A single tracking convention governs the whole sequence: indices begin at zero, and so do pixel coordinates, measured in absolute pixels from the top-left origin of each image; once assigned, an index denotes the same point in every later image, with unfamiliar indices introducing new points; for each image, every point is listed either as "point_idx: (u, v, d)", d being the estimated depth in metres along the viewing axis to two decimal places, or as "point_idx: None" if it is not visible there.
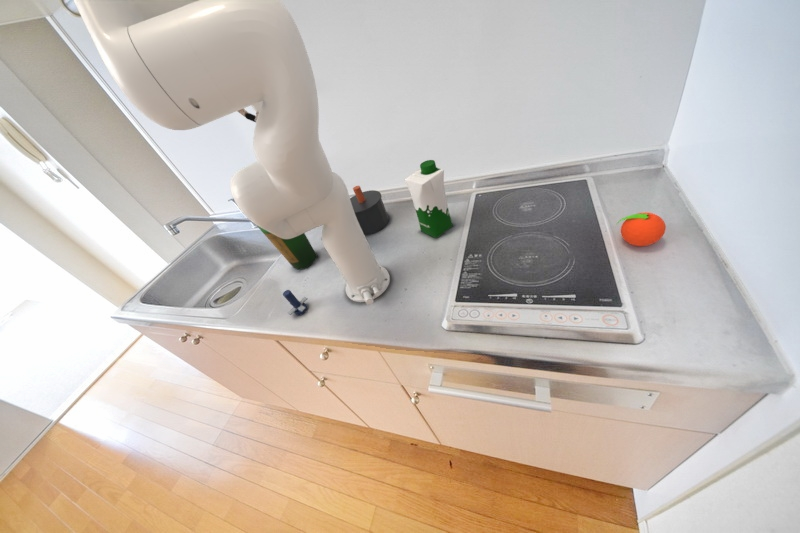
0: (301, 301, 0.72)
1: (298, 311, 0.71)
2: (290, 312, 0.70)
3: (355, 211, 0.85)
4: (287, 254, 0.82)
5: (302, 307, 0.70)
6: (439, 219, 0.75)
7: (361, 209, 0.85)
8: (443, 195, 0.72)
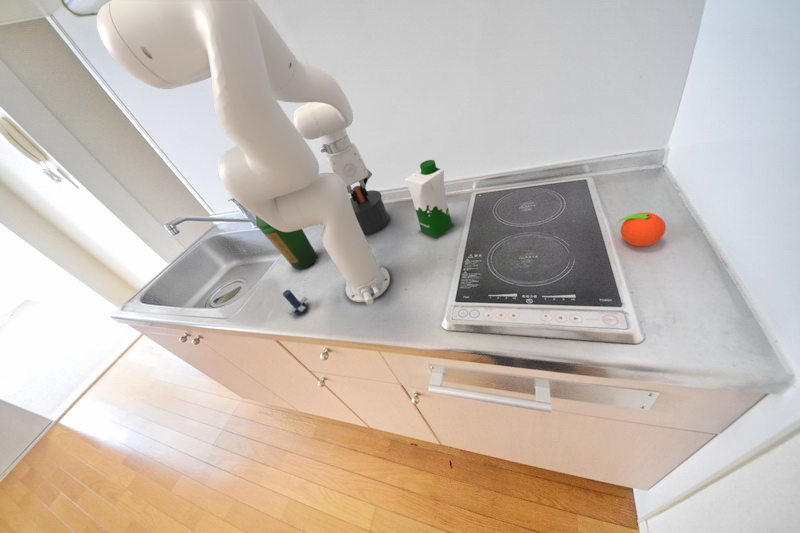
0: (301, 301, 0.72)
1: (298, 311, 0.71)
2: (290, 312, 0.70)
3: (355, 211, 0.85)
4: (287, 254, 0.82)
5: (302, 307, 0.70)
6: (439, 219, 0.75)
7: (361, 209, 0.85)
8: (443, 195, 0.72)
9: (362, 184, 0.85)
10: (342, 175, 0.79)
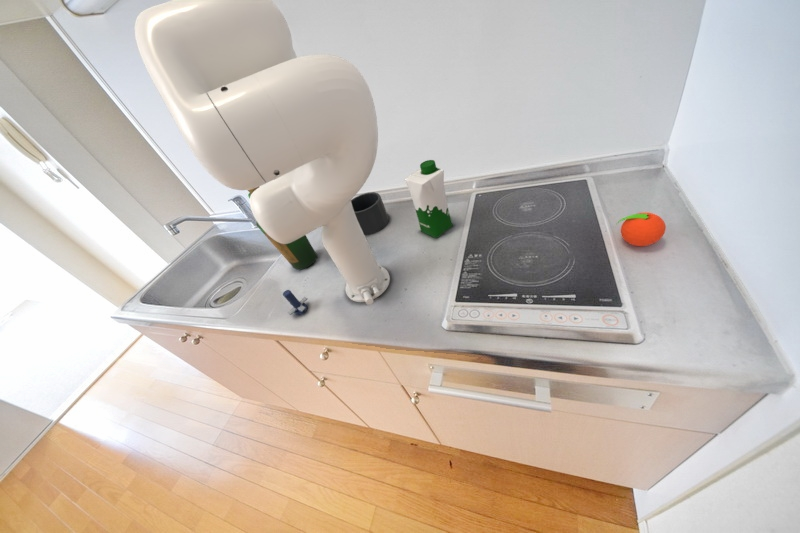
0: (301, 301, 0.72)
1: (298, 311, 0.71)
2: (290, 312, 0.70)
3: None
4: (287, 254, 0.82)
5: (302, 307, 0.70)
6: (439, 219, 0.75)
7: None
8: (443, 195, 0.72)
9: None
10: None
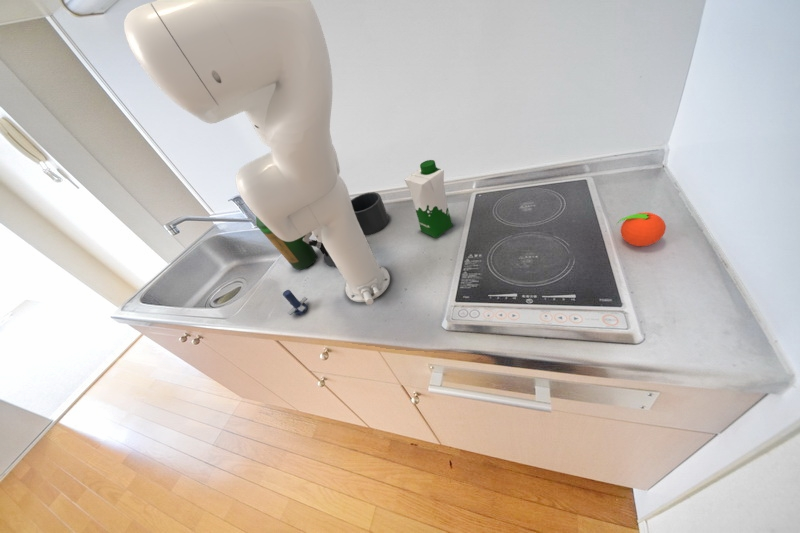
0: (301, 301, 0.72)
1: (298, 311, 0.71)
2: (290, 312, 0.70)
3: (334, 264, 0.82)
4: (287, 254, 0.82)
5: (302, 307, 0.70)
6: (439, 219, 0.75)
7: None
8: (443, 195, 0.72)
9: None
10: (319, 230, 0.76)
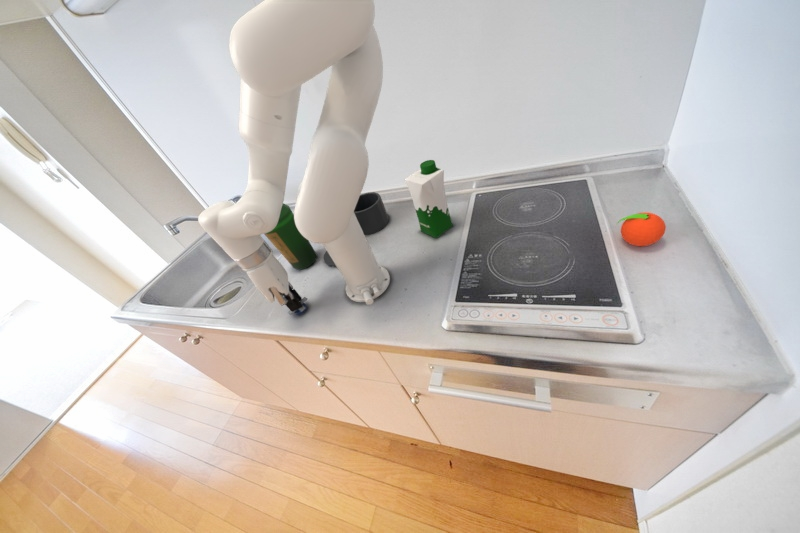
0: (301, 301, 0.72)
1: (298, 311, 0.71)
2: (290, 312, 0.70)
3: (334, 264, 0.82)
4: (287, 254, 0.82)
5: (302, 307, 0.70)
6: (439, 219, 0.75)
7: None
8: (443, 195, 0.72)
9: None
10: None
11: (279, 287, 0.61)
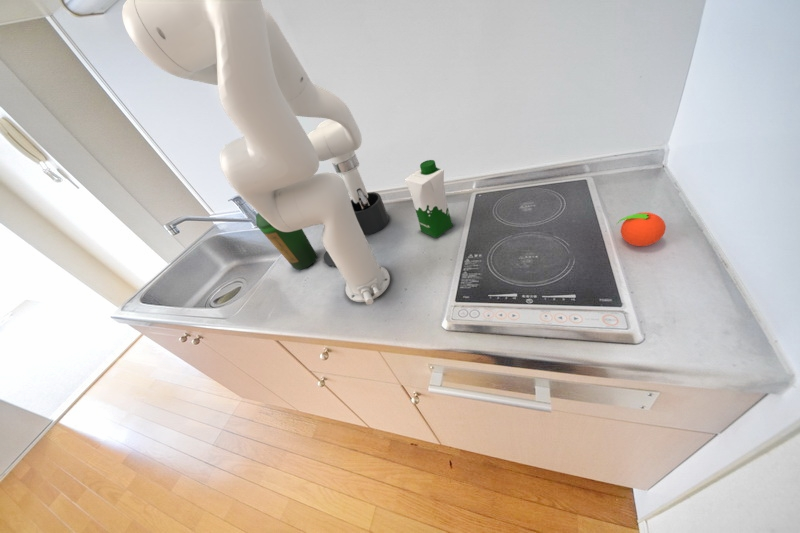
0: None
1: None
2: None
3: (334, 264, 0.82)
4: (287, 254, 0.82)
5: None
6: (439, 219, 0.75)
7: None
8: (443, 195, 0.72)
9: (360, 206, 0.86)
10: None
11: (364, 189, 0.82)
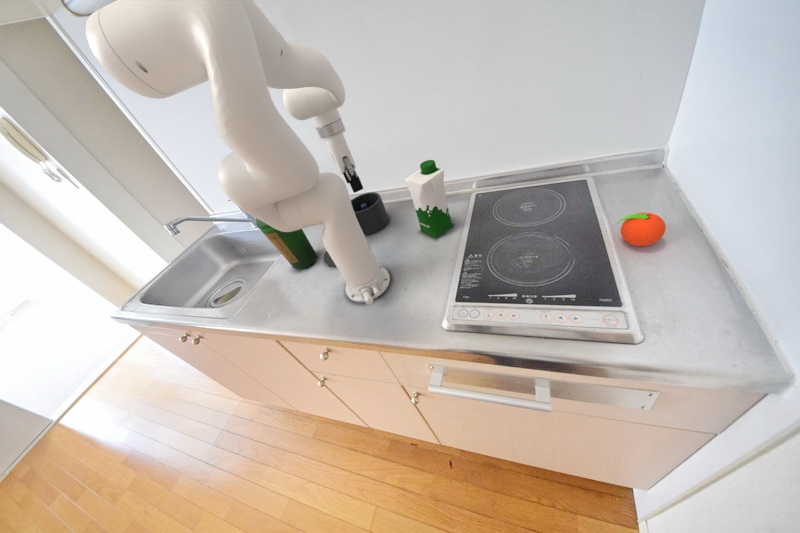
0: None
1: None
2: None
3: (334, 264, 0.82)
4: (287, 254, 0.82)
5: None
6: (439, 219, 0.75)
7: None
8: (443, 195, 0.72)
9: (347, 176, 0.77)
10: None
11: (350, 158, 0.75)
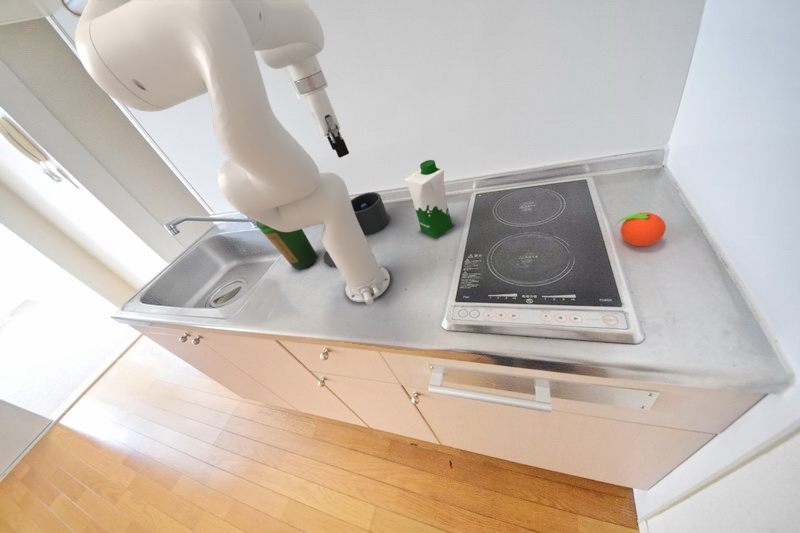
0: None
1: None
2: None
3: (334, 264, 0.82)
4: (287, 254, 0.82)
5: None
6: (439, 219, 0.75)
7: None
8: (443, 195, 0.72)
9: (331, 138, 0.71)
10: None
11: (333, 117, 0.69)
